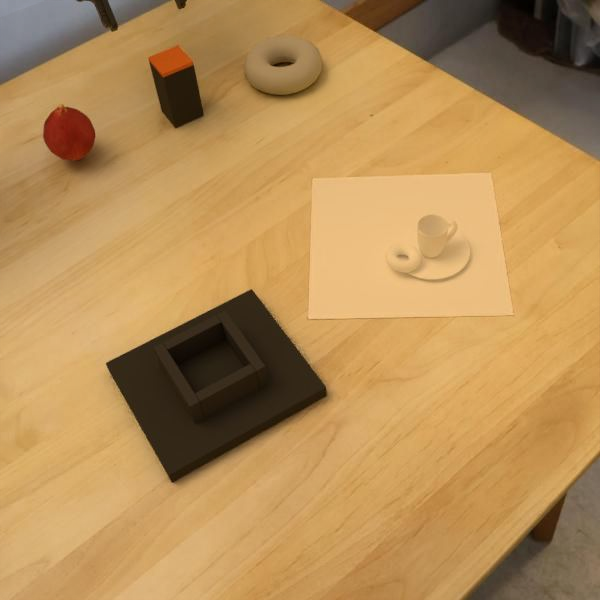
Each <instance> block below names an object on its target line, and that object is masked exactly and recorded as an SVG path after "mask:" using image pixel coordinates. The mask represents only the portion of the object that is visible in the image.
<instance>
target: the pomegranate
mask: <svg viewBox="0 0 600 600" xmlns="http://www.w3.org/2000/svg"><path fill="white" fill-rule="evenodd" d="M42 138H43V141H44V144H45V145H46V147H47V149H48V150H49V151H50V152H51V154H53V155H54V156H56V157H58V158H59V159H61V160H65V161H71V162H72V161H76V162H78V161H81V160H82V159H84V157H86V156H88V154H89V153H90V152H91V151H92V149H93V147H94V145H95V141H96V129H95V127H94V124H93V123H92V121H91V119H90V118H89V116H88V115H86V114H85V113H83V112H82V111H81V110H80V109H77V108H74V107H70V106H65V105H64V104H63V103H61V104H58V105H57V106H56V108H54V110H52V111H51V112H50V113H49V115H48V117H47V118H46V119H45V121H44V123H43V134H42Z"/></svg>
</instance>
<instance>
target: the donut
mask: <svg viewBox="0 0 600 600" xmlns="http://www.w3.org/2000/svg"><path fill="white" fill-rule="evenodd" d="M280 63H291V64H289V65H285V66H274V65H277V64H280ZM322 68H323V57H322V55H321V52H320V50H319V48H318V47H317V46H316V45H315V44H314V43H313V42H311V41H310V40H308V39H306V38H304V37H301V36H297V35H292V34H279V35H278V34H277V35H274V36H273V35H272V36H270V37H267V38H264V39H261V40H260V41H258V42H257V43H256V44H254V45H253V46H252V47H250V49H249V51H248V52H247V53H246V55H245V57H244V60H243V70H244V74H245V78H246V80H247V81H248V82H249V83H250V84H251V86H253V87H254V88H255V89H257V90H259V91H260V92H263V93H265V94H266V93H267V94H269V95H274V96H275V95H276V96H277V95H279V96H280V95H281V96H283V95H285V96H286V95H291V94H297V93H299V92H301V91H304V90H306V89H307V88H308V87H310V86H311V85H313V83H315V82H316V81H317V79H318V77H319V76H320V75H321V73H322Z"/></svg>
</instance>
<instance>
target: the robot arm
mask: <svg viewBox="0 0 600 600" xmlns="http://www.w3.org/2000/svg"><path fill="white" fill-rule="evenodd" d="M75 1H76V2H78V3H81V2H90V3H92V4H93V5H94V7H95V10H96V12H97V14H98V17H99V19H100V22H101V24H102V26H103V27H104V28H105V29H110V32H112V33H113V32H116V31H118V29H119V24H118V22H117V19H116V16H115V14H114V13H113V10H112V7H111V4H110V2H109V0H75ZM187 1H188V0H174V2H175V5H176V8H177V10H182V9H183V10H184V9H185V7H186V6H187Z"/></svg>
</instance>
